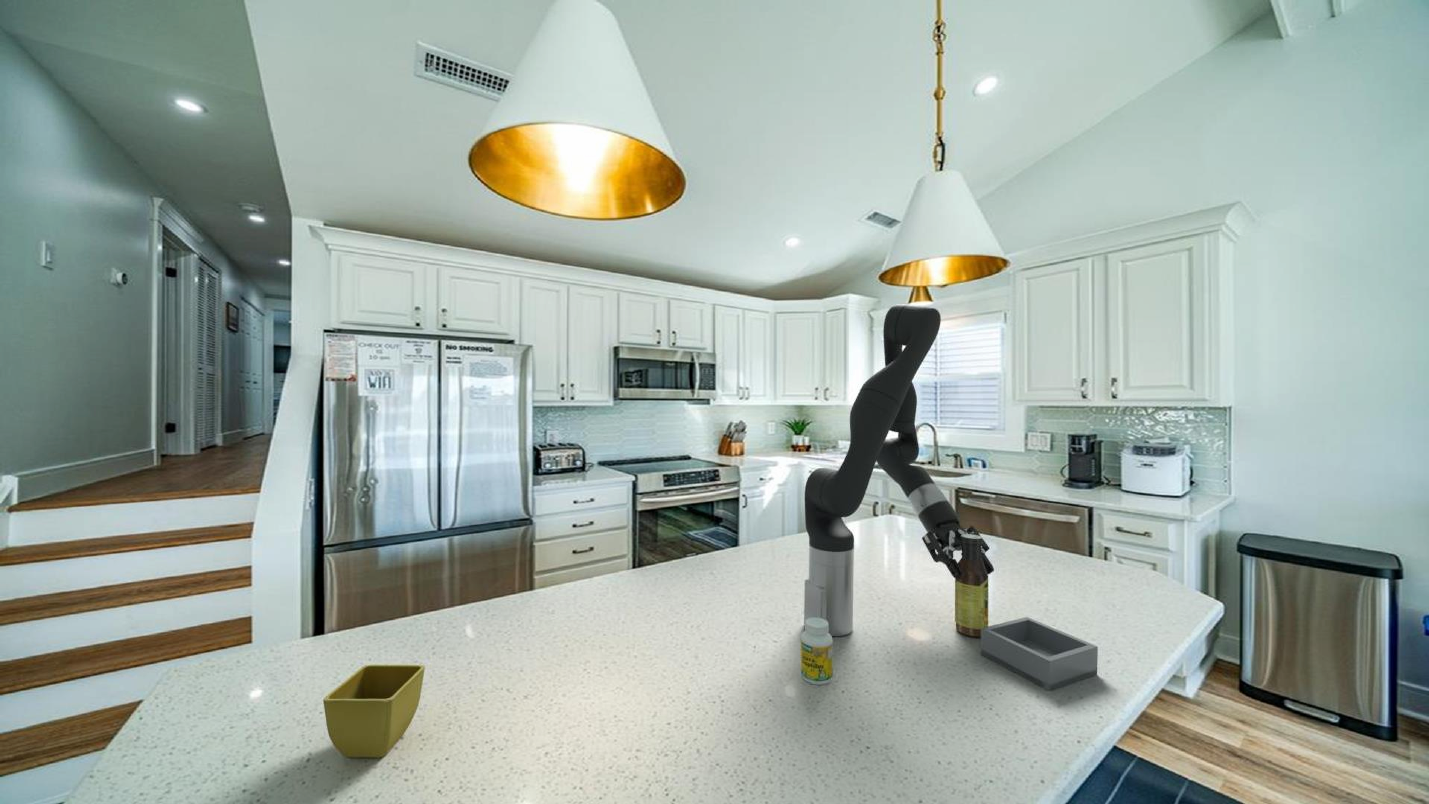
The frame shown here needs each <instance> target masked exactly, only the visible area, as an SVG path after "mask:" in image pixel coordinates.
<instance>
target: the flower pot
mask: <svg viewBox="0 0 1429 804" xmlns="http://www.w3.org/2000/svg"><path fill="white" fill-rule="evenodd" d="M425 668H426V665H424V664H423V665H422V664H366V665H363V666H362V667H361V668H359V669H358V670H356V671H355V673H353V674H352V675H351V676H349V678H347V679H346V680H344V681H343V682H342V683H341V684H340V685H338V686H337V687H336V688H334V689H333V690H332V691H331V692H330V693H328V694H327V695H326V696H325V697H324V698H323V700H322V701H323V703H322V704H323V709H324V715H325V716H324V717H325V722H326V730H327V733H328V734H327V735H328V736H329V737H328V738H329V739H330V741H331V743H332V745H333V747H335V749H336V750H337V751H338V752H339V753H340V754H342V756H343V757H346V758H384V757H385V756H387V754H388V753H389V751H390V750H392V748H393V747H394V746H395V745H396V743H398V741H399V740H400V739H401V738H402V737H403V736H404V735H405V733H406V731H407V729H408V728H409V726H410V724H411V723H412V720H413V719H414V716H415V714H416V712H417V709H418V707H419V703H420V699H421V693H422V688H423V681H424V675H425Z"/></svg>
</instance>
